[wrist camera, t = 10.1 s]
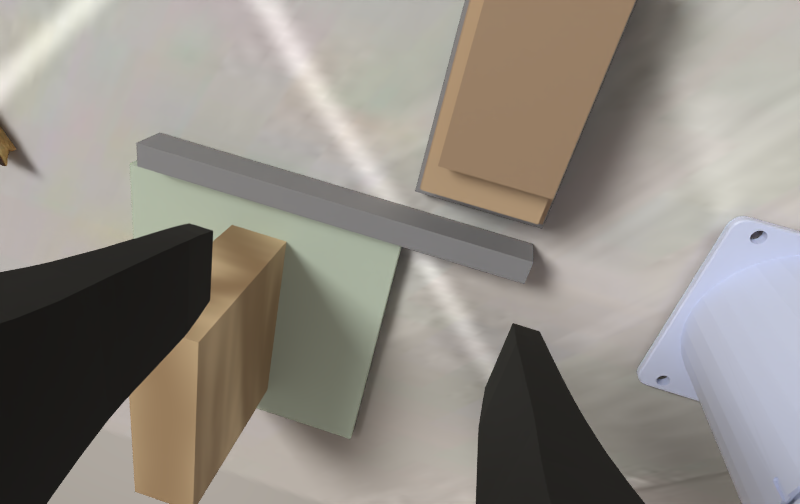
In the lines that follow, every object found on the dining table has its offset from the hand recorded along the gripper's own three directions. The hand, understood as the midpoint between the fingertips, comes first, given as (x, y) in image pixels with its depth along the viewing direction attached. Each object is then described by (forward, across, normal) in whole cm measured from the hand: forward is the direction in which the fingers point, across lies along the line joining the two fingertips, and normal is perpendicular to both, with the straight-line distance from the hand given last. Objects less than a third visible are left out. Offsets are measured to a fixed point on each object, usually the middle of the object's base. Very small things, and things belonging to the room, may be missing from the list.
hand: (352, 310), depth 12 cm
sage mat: (+9, +6, +9) cm, 14 cm away
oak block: (+9, +6, +9) cm, 14 cm away
